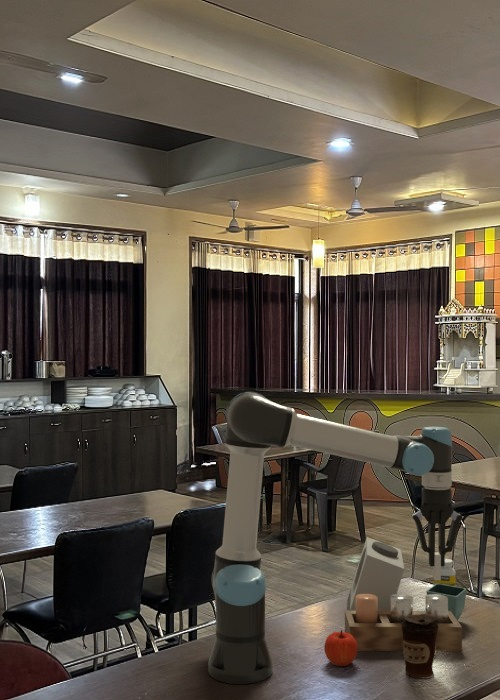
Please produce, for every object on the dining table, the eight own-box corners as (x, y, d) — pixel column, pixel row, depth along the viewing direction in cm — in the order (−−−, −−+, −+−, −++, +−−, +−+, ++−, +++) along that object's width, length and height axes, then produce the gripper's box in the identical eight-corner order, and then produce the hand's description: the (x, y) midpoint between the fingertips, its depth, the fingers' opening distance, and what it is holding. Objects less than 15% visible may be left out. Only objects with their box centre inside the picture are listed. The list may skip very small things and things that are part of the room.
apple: (338, 654, 195) (338, 621, 195) (364, 663, 189) (364, 630, 189) (317, 663, 189) (317, 630, 189) (343, 673, 184) (343, 639, 184)
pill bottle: (434, 601, 235) (434, 562, 235) (432, 594, 241) (432, 557, 241) (456, 602, 234) (456, 563, 234) (454, 595, 240) (454, 557, 240)
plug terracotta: (357, 628, 200) (357, 600, 200) (354, 620, 206) (354, 593, 206) (379, 628, 200) (379, 600, 200) (375, 620, 206) (375, 593, 206)
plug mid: (392, 628, 200) (392, 600, 200) (388, 620, 206) (389, 593, 206) (414, 628, 200) (414, 600, 200) (410, 620, 206) (410, 593, 206)
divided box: (349, 650, 197) (349, 626, 197) (344, 632, 209) (344, 610, 209) (461, 651, 197) (461, 627, 197) (450, 633, 209) (450, 611, 209)
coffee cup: (430, 685, 177) (430, 627, 177) (395, 676, 182) (395, 620, 181) (442, 671, 185) (443, 616, 184) (409, 663, 189) (409, 609, 189)
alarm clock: (347, 600, 236) (347, 533, 236) (400, 602, 234) (400, 534, 234) (345, 624, 216) (345, 550, 216) (404, 627, 214) (404, 552, 214)
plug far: (427, 628, 200) (427, 600, 200) (423, 620, 206) (423, 594, 206) (450, 628, 200) (450, 601, 200) (445, 620, 206) (445, 594, 205)
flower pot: (467, 620, 219) (467, 588, 219) (457, 629, 212) (457, 596, 212) (436, 614, 224) (436, 582, 224) (425, 623, 216) (425, 591, 216)
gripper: (414, 489, 199) (414, 583, 199) (465, 490, 199) (465, 583, 199) (408, 484, 206) (408, 574, 207) (458, 484, 206) (458, 574, 206)
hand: (436, 578), depth 203 cm, fingers closed
